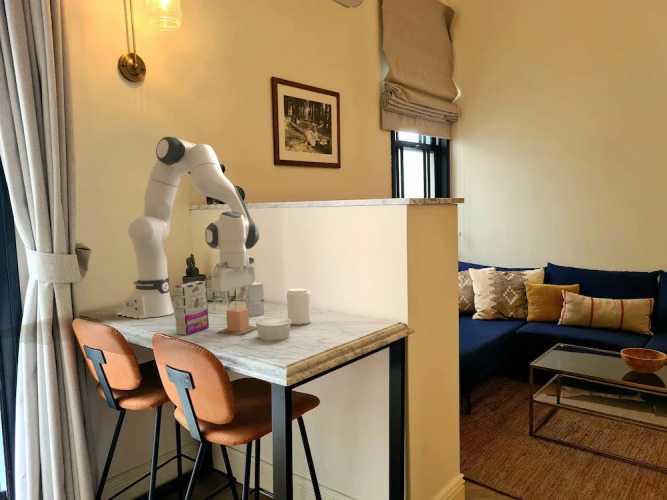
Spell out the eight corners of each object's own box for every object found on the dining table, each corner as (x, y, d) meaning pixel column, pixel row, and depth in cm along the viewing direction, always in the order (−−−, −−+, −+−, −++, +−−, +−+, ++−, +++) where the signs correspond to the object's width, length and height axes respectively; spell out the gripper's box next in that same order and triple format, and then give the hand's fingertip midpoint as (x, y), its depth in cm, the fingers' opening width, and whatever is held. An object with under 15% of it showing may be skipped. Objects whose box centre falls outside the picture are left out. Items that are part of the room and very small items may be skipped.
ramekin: (286, 342, 156) (286, 325, 156) (251, 342, 158) (250, 325, 157) (295, 333, 167) (295, 317, 167) (262, 332, 169) (262, 317, 168)
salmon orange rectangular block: (240, 331, 169) (239, 311, 168) (227, 330, 171) (226, 310, 170) (249, 327, 174) (248, 308, 173) (236, 326, 176) (235, 307, 175)
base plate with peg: (217, 333, 170) (216, 314, 169) (234, 326, 179) (233, 308, 178) (242, 335, 166) (242, 316, 165) (258, 328, 175) (258, 310, 174)
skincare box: (250, 316, 194) (249, 284, 193) (245, 314, 198) (244, 283, 197) (265, 314, 197) (263, 283, 196) (260, 312, 201) (258, 281, 200)
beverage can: (299, 326, 176) (297, 292, 174) (283, 323, 181) (282, 289, 180) (315, 322, 181) (314, 288, 180) (299, 319, 187) (298, 286, 186)
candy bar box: (198, 326, 180) (195, 280, 178) (209, 328, 177) (206, 281, 176) (175, 334, 170) (172, 285, 168) (186, 335, 167) (183, 286, 166)
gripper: (222, 264, 159) (223, 308, 160) (257, 258, 178) (258, 297, 179) (205, 263, 162) (207, 307, 163) (242, 257, 180) (243, 296, 181)
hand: (234, 301), depth 171 cm, fingers open, 8 cm apart
